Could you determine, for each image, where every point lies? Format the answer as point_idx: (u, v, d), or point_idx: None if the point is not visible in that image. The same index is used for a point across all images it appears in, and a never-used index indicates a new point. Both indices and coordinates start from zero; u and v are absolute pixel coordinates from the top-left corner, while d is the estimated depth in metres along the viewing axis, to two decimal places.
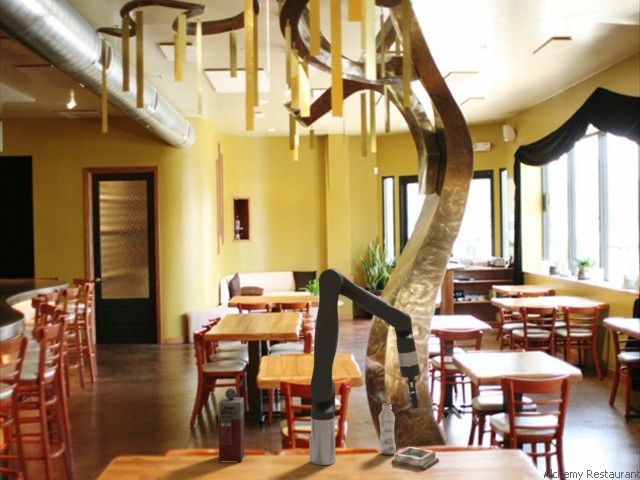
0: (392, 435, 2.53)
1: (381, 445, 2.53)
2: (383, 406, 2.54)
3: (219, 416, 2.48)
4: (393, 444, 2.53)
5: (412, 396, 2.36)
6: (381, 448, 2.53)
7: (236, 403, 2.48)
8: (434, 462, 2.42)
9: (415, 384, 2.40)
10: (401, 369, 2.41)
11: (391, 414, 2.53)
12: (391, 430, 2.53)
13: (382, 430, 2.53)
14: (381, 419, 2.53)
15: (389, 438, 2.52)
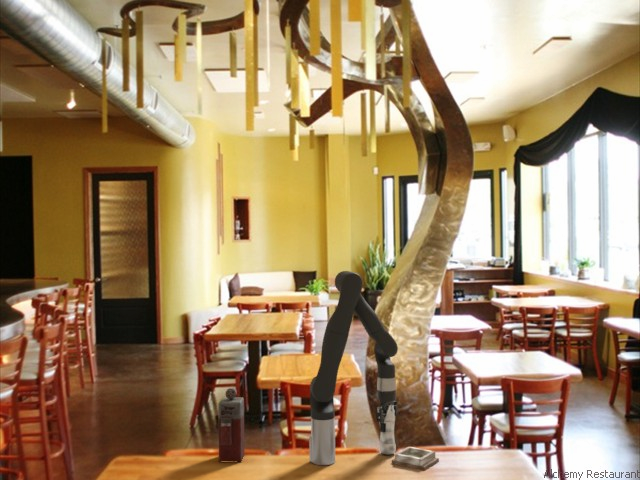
0: (392, 435, 2.53)
1: (381, 445, 2.53)
2: None
3: (219, 416, 2.48)
4: (393, 444, 2.53)
5: (378, 420, 2.50)
6: (381, 448, 2.53)
7: (236, 403, 2.48)
8: (434, 462, 2.42)
9: (386, 409, 2.52)
10: (377, 392, 2.55)
11: (391, 414, 2.53)
12: (391, 430, 2.53)
13: None
14: None
15: (389, 438, 2.52)
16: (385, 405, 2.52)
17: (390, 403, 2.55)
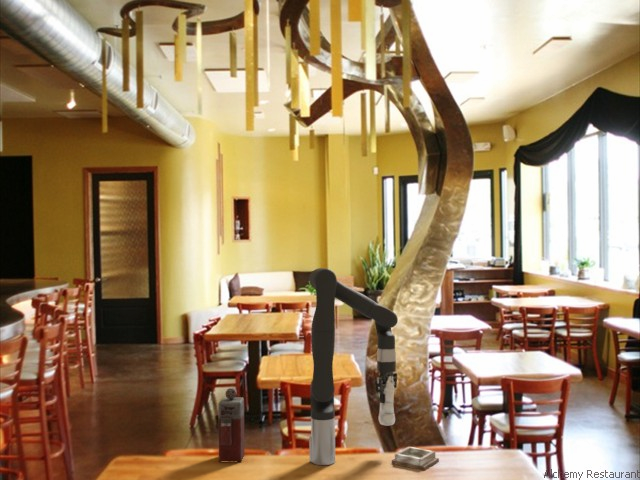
0: (391, 406, 2.53)
1: (380, 416, 2.53)
2: None
3: (219, 416, 2.48)
4: (392, 415, 2.53)
5: (378, 391, 2.51)
6: (380, 419, 2.53)
7: (236, 403, 2.48)
8: (434, 462, 2.42)
9: (386, 380, 2.53)
10: (377, 363, 2.56)
11: (391, 385, 2.53)
12: (390, 401, 2.53)
13: None
14: None
15: (388, 409, 2.53)
16: (385, 376, 2.52)
17: (390, 374, 2.56)
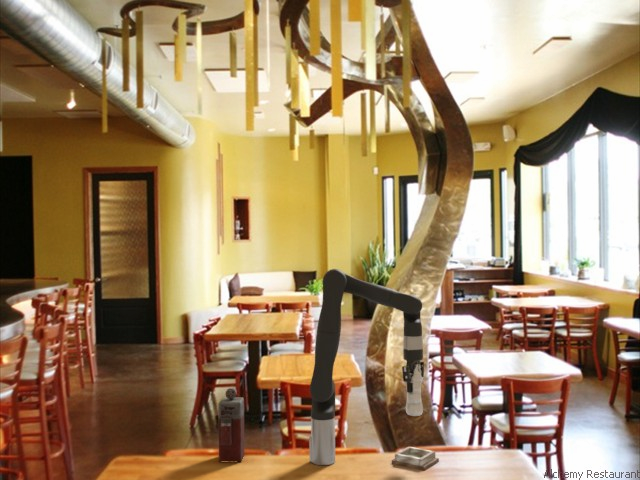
0: (419, 396, 2.43)
1: (408, 406, 2.43)
2: None
3: (219, 416, 2.48)
4: (420, 405, 2.43)
5: (405, 380, 2.40)
6: (408, 409, 2.43)
7: (236, 403, 2.48)
8: (434, 462, 2.42)
9: (413, 368, 2.42)
10: (403, 351, 2.45)
11: (418, 374, 2.43)
12: (418, 390, 2.42)
13: None
14: None
15: (416, 398, 2.42)
16: (412, 364, 2.42)
17: None
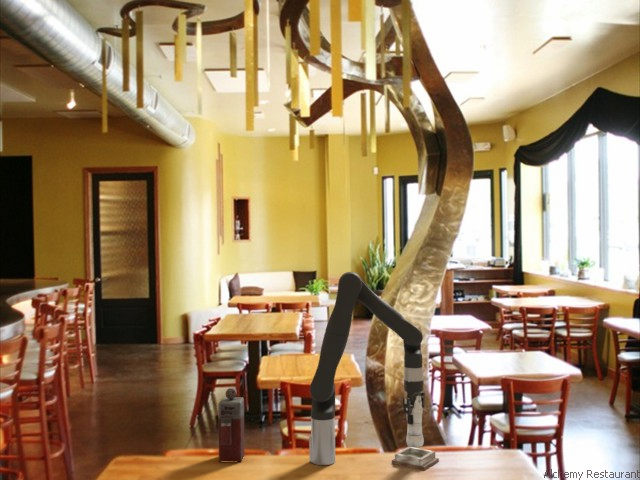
0: (420, 427, 2.43)
1: (408, 438, 2.43)
2: None
3: (219, 416, 2.48)
4: (421, 437, 2.42)
5: (405, 412, 2.40)
6: (408, 441, 2.42)
7: (236, 403, 2.48)
8: (434, 462, 2.42)
9: (414, 400, 2.42)
10: (404, 382, 2.45)
11: (419, 405, 2.43)
12: (419, 422, 2.42)
13: None
14: None
15: (416, 430, 2.42)
16: (412, 396, 2.42)
17: (417, 394, 2.45)
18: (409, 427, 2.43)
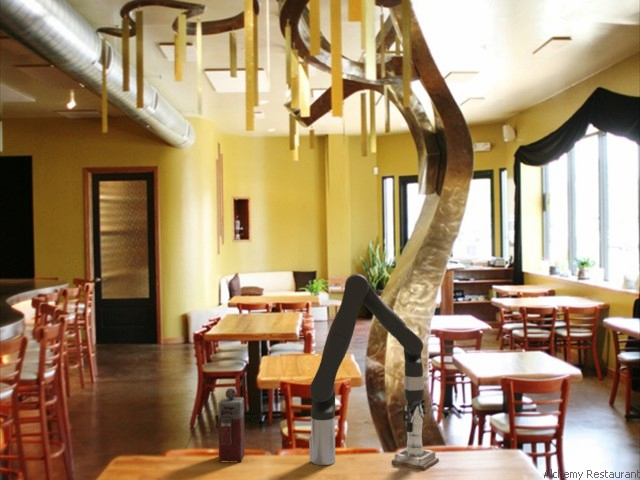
0: (420, 439, 2.42)
1: (408, 450, 2.43)
2: None
3: (219, 416, 2.48)
4: (421, 449, 2.42)
5: (404, 420, 2.39)
6: (408, 453, 2.42)
7: (236, 403, 2.48)
8: (434, 462, 2.42)
9: (414, 409, 2.42)
10: (404, 391, 2.45)
11: (419, 417, 2.42)
12: (419, 434, 2.42)
13: (409, 434, 2.43)
14: None
15: (416, 442, 2.42)
16: (413, 405, 2.42)
17: (418, 403, 2.45)
18: (409, 439, 2.43)
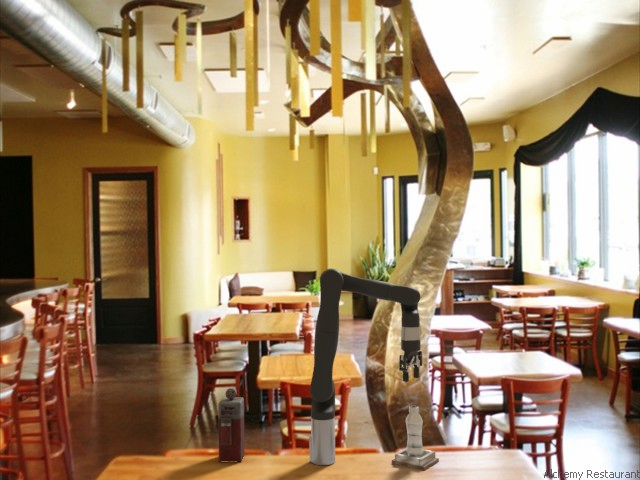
0: (420, 439, 2.42)
1: (408, 450, 2.43)
2: (410, 409, 2.43)
3: (219, 416, 2.48)
4: (421, 449, 2.42)
5: (401, 369, 2.42)
6: (408, 453, 2.42)
7: (236, 403, 2.48)
8: (434, 462, 2.42)
9: (410, 359, 2.44)
10: (401, 342, 2.47)
11: (419, 417, 2.42)
12: (419, 434, 2.42)
13: (409, 434, 2.43)
14: (408, 422, 2.42)
15: (416, 442, 2.42)
16: (409, 355, 2.44)
17: (414, 353, 2.47)
18: (409, 439, 2.43)
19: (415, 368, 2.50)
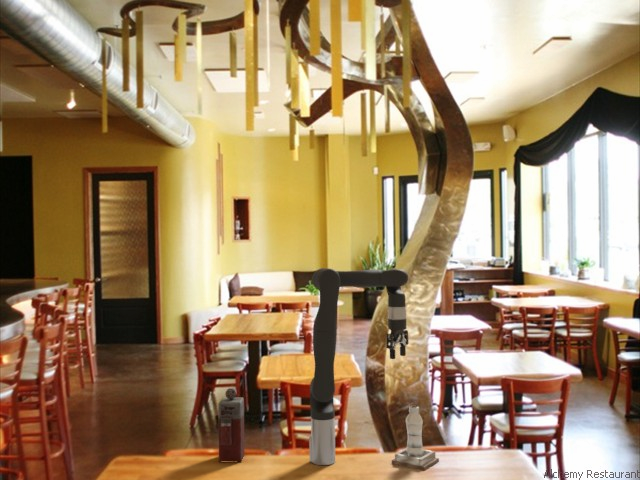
0: (420, 439, 2.42)
1: (408, 450, 2.43)
2: (410, 409, 2.43)
3: (219, 416, 2.48)
4: (421, 449, 2.42)
5: (388, 347, 2.54)
6: (408, 453, 2.42)
7: (236, 403, 2.48)
8: (434, 462, 2.42)
9: (397, 337, 2.57)
10: (388, 321, 2.59)
11: (419, 417, 2.42)
12: (419, 434, 2.42)
13: (409, 434, 2.43)
14: (408, 422, 2.42)
15: (416, 442, 2.42)
16: (396, 333, 2.56)
17: (400, 332, 2.59)
18: (409, 439, 2.43)
19: (401, 346, 2.63)
